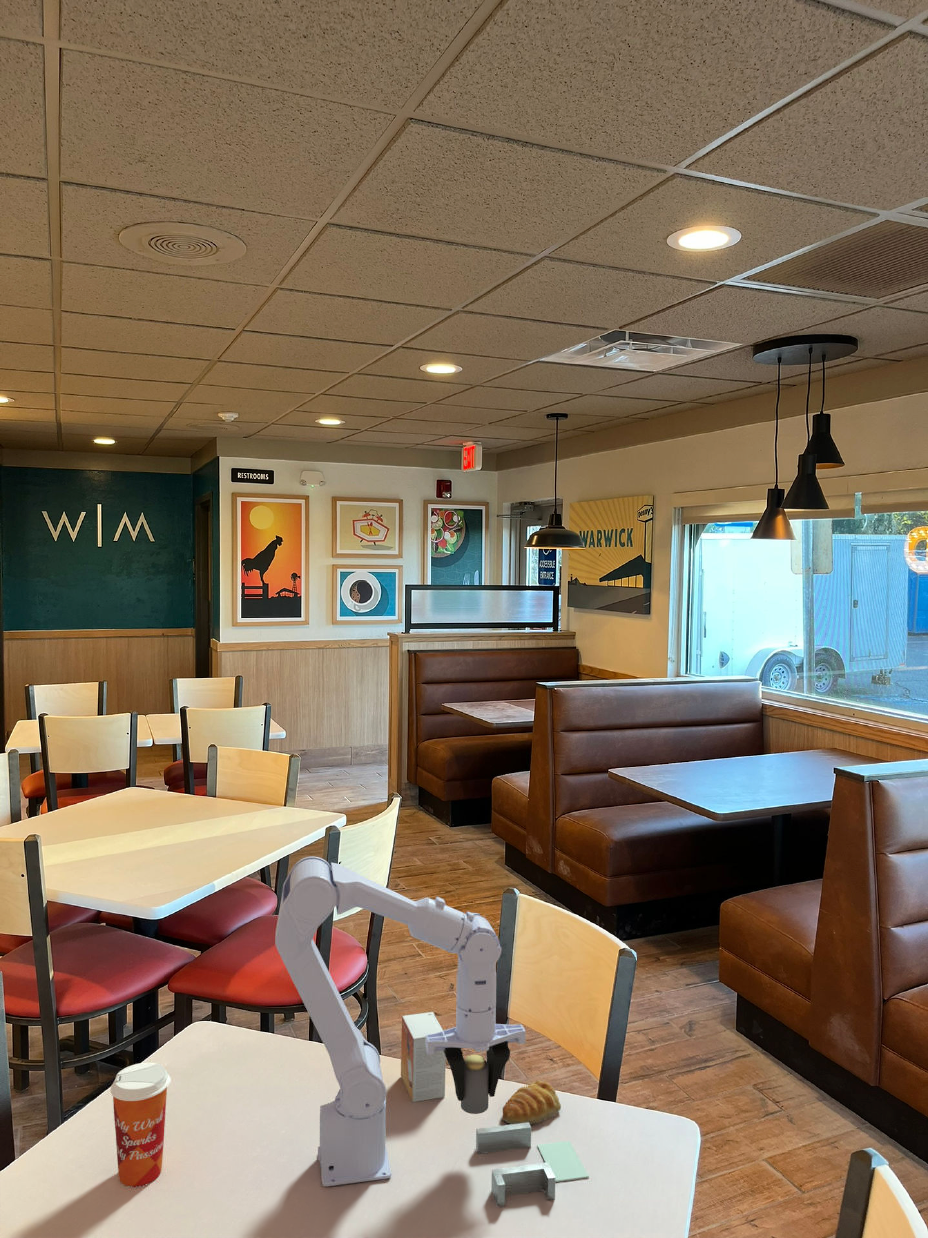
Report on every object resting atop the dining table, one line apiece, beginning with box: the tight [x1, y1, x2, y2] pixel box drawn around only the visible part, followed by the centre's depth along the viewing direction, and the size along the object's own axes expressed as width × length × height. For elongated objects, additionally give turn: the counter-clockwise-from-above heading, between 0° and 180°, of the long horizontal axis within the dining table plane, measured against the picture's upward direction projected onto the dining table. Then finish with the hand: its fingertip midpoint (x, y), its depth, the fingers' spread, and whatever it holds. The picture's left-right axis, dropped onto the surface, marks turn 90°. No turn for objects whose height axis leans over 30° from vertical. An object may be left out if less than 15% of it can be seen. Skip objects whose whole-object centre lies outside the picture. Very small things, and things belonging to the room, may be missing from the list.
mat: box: [537, 1140, 589, 1183], centre depth 127 cm, size 5×8×1 cm, turn 12°
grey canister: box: [460, 1054, 489, 1115], centre depth 128 cm, size 4×4×7 cm
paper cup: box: [110, 1062, 172, 1188], centre depth 123 cm, size 8×8×14 cm
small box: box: [400, 1011, 447, 1103], centre depth 145 cm, size 8×6×10 cm
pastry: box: [502, 1079, 562, 1125], centre depth 138 cm, size 9×7×4 cm
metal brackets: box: [475, 1122, 556, 1208], centre depth 124 cm, size 8×12×3 cm, turn 12°
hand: (475, 1095), depth 128 cm, fingers closed on grey canister, 4 cm apart
